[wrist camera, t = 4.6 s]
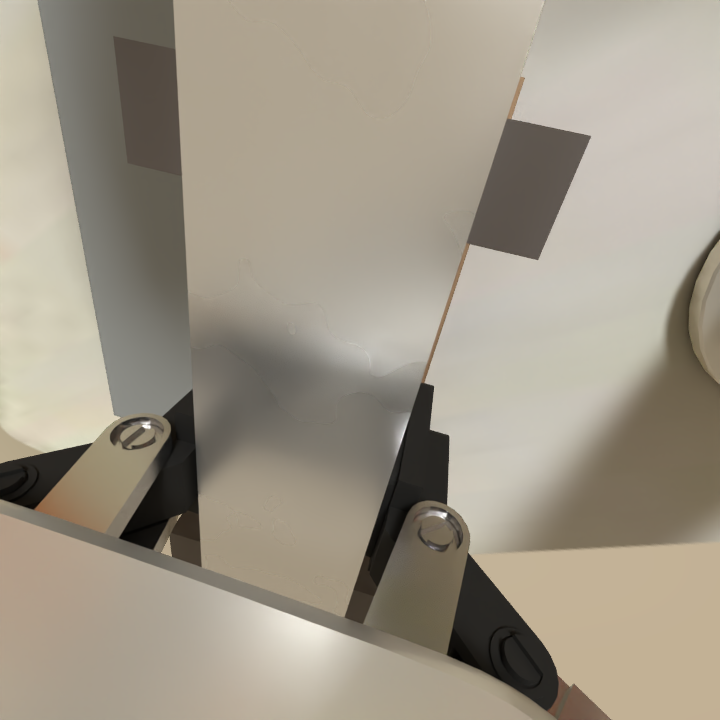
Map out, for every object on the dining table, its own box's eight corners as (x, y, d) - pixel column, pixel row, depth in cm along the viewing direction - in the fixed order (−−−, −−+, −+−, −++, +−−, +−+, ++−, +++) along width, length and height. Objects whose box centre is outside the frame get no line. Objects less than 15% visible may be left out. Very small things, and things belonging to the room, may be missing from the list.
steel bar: (577, -160, 5) (700, -474, 3) (333, 632, 16) (310, 722, 14) (293, -200, 5) (147, -500, 3) (245, 601, 17) (207, 683, 14)
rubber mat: (279, -70, 14) (270, -81, 13) (251, 445, 27) (246, 453, 27) (33, -114, 15) (13, -127, 14) (122, 408, 28) (114, 415, 27)
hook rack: (520, 84, 15) (666, -39, 5) (399, 454, 25) (368, 654, 15) (318, 43, 16) (93, -137, 6) (280, 420, 26) (175, 592, 16)
